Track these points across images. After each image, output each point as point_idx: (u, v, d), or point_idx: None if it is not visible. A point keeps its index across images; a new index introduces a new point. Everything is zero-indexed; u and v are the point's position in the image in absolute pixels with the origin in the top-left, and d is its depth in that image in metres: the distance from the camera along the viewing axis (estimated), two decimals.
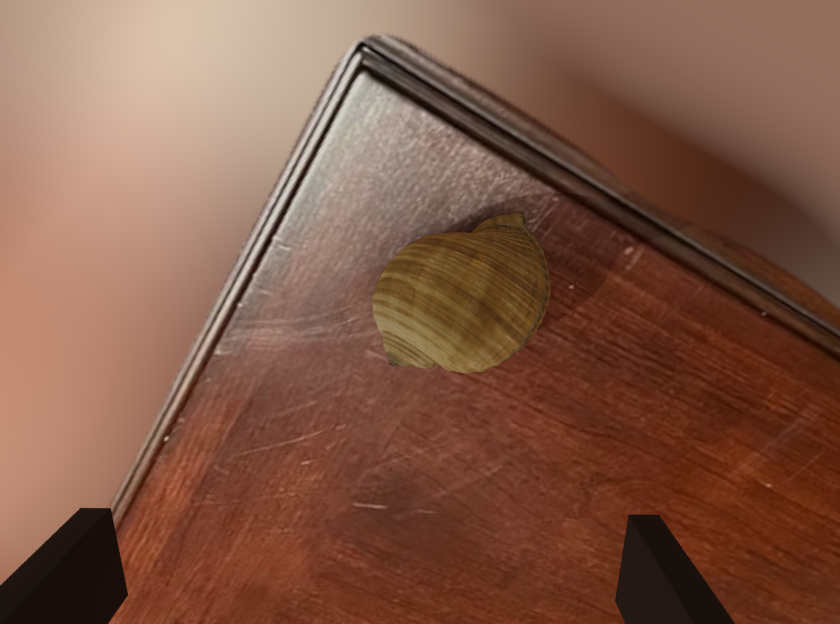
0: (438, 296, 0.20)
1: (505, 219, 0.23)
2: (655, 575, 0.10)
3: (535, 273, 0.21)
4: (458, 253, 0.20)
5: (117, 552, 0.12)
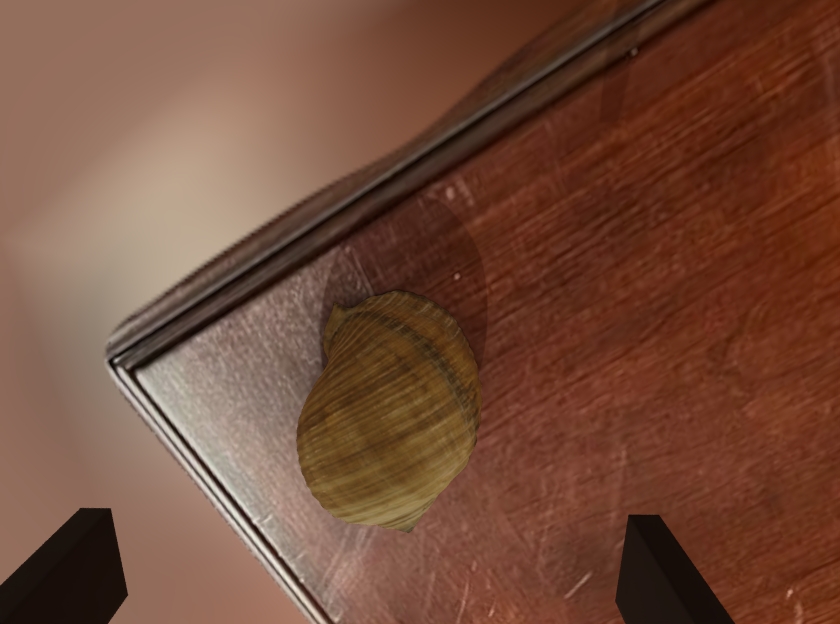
0: (340, 482, 0.16)
1: (330, 327, 0.19)
2: (655, 575, 0.10)
3: (388, 350, 0.17)
4: (313, 428, 0.17)
5: (117, 552, 0.12)
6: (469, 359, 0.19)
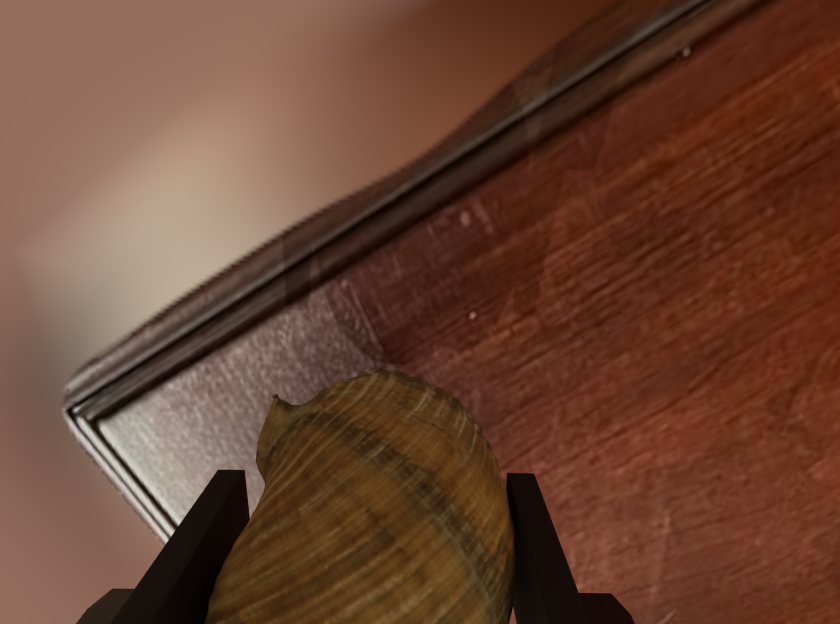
0: None
1: (265, 437, 0.11)
2: (516, 521, 0.12)
3: (354, 499, 0.09)
4: None
5: (247, 509, 0.14)
6: (495, 490, 0.11)
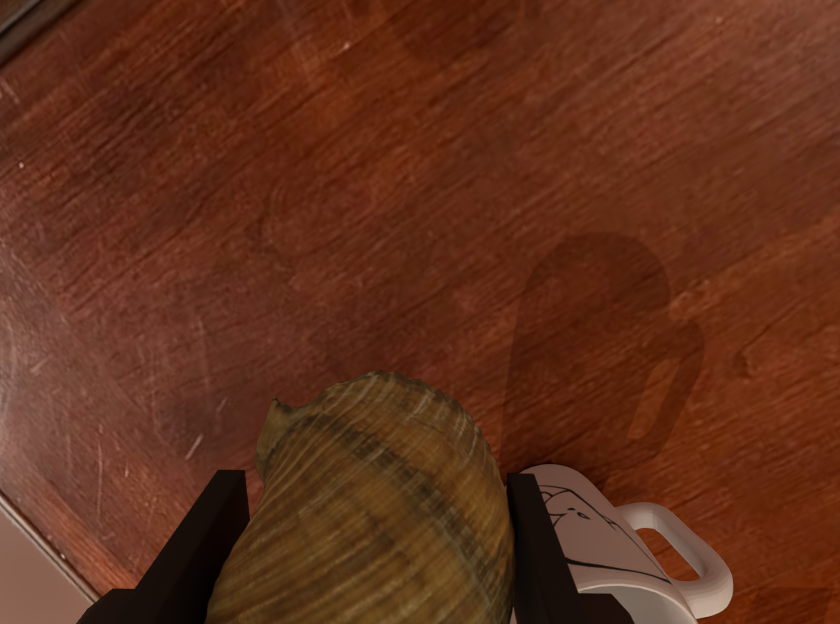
0: None
1: (264, 440, 0.11)
2: (516, 521, 0.12)
3: (354, 503, 0.09)
4: None
5: (247, 509, 0.14)
6: (495, 493, 0.11)
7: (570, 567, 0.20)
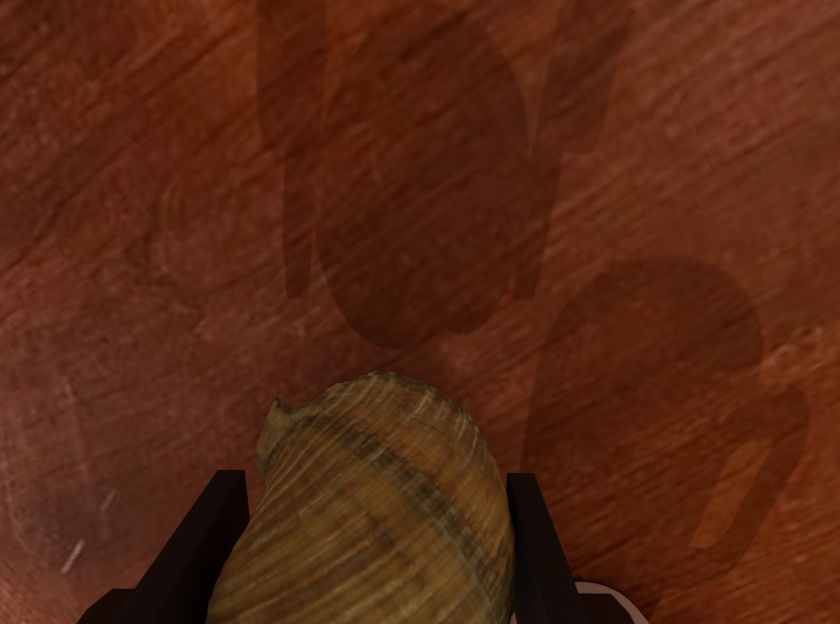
0: None
1: (265, 440, 0.11)
2: (516, 521, 0.12)
3: (354, 503, 0.09)
4: None
5: (247, 509, 0.14)
6: (495, 493, 0.11)
7: None
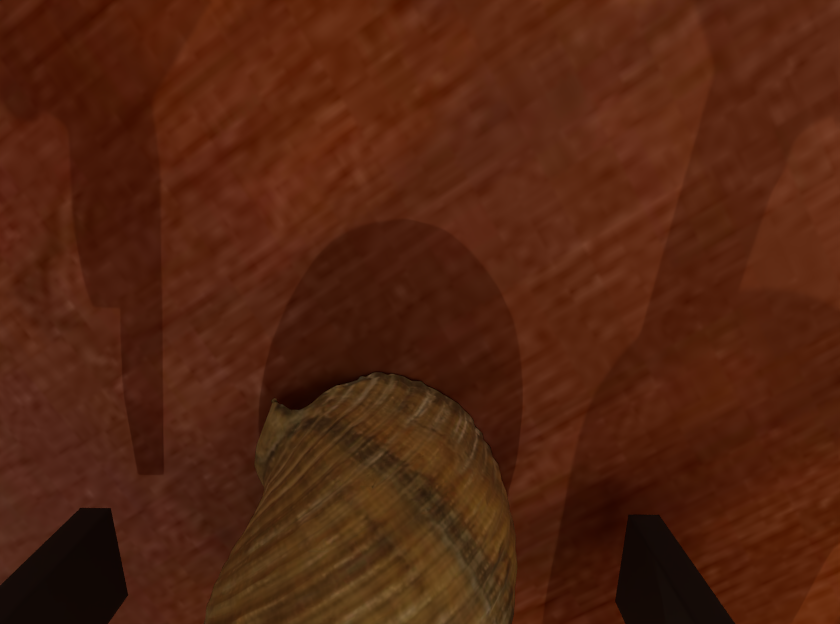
0: None
1: (264, 442, 0.11)
2: (654, 575, 0.10)
3: (353, 507, 0.09)
4: None
5: (117, 552, 0.12)
6: (496, 497, 0.11)
7: None
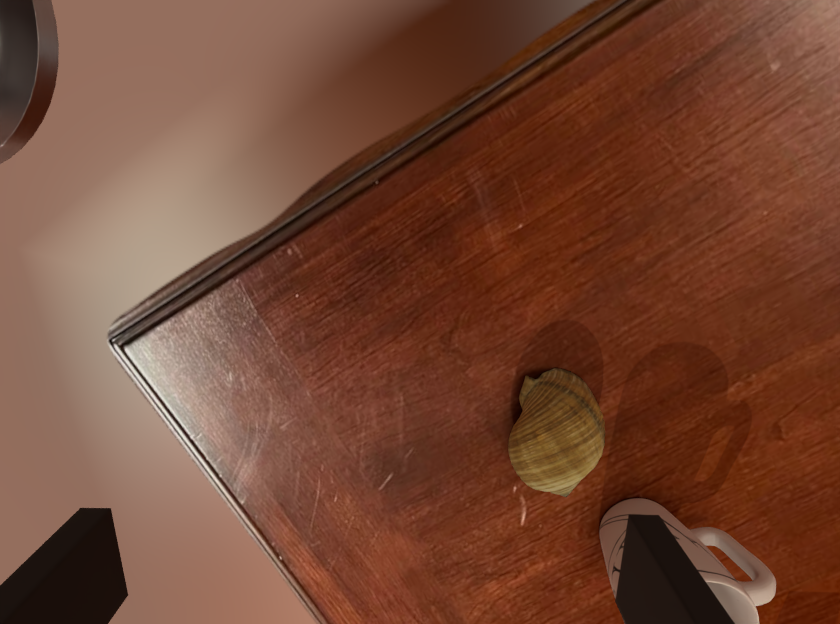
0: (545, 468, 0.34)
1: (525, 389, 0.37)
2: (654, 576, 0.10)
3: (565, 403, 0.34)
4: (529, 441, 0.34)
5: (117, 552, 0.12)
6: (598, 406, 0.36)
7: None
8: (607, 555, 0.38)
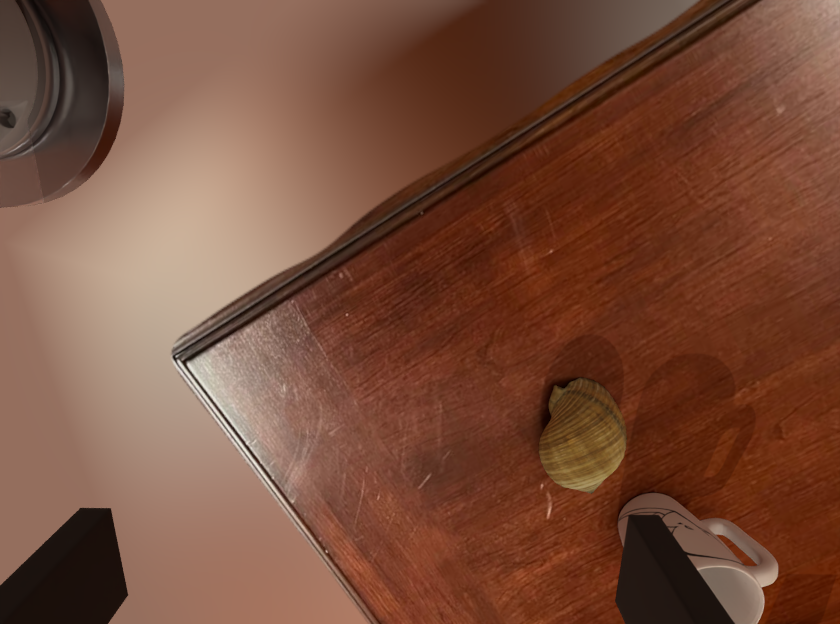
0: (575, 468, 0.38)
1: (554, 397, 0.41)
2: (655, 575, 0.10)
3: (591, 410, 0.38)
4: (560, 445, 0.38)
5: (117, 552, 0.12)
6: (620, 412, 0.40)
7: (690, 557, 0.36)
8: None
